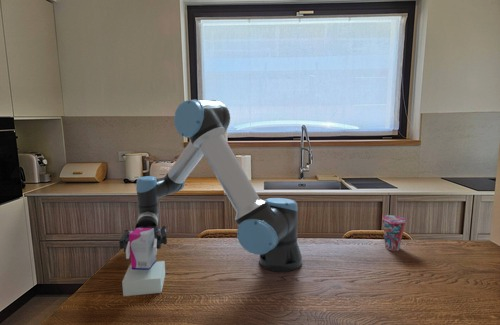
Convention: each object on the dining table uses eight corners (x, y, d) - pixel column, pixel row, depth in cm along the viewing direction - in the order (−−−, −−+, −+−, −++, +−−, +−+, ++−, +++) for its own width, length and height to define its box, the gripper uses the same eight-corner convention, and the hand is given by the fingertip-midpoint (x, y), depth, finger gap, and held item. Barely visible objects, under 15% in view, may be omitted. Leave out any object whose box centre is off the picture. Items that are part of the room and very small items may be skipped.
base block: (165, 274, 107) (164, 261, 106) (161, 293, 96) (160, 278, 95) (131, 277, 105) (130, 263, 104) (123, 297, 95) (122, 281, 94)
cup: (378, 242, 129) (379, 214, 127) (400, 243, 127) (402, 215, 125) (384, 253, 120) (386, 222, 117) (408, 254, 118) (410, 223, 116)
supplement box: (156, 261, 102) (154, 227, 100) (149, 270, 96) (146, 234, 94) (139, 260, 103) (136, 226, 101) (130, 269, 97) (128, 234, 95)
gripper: (175, 232, 119) (176, 260, 97) (118, 237, 114) (106, 269, 92) (174, 212, 117) (175, 237, 95) (116, 217, 113) (103, 244, 91)
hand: (141, 252), depth 94 cm, fingers closed on supplement box, 7 cm apart
